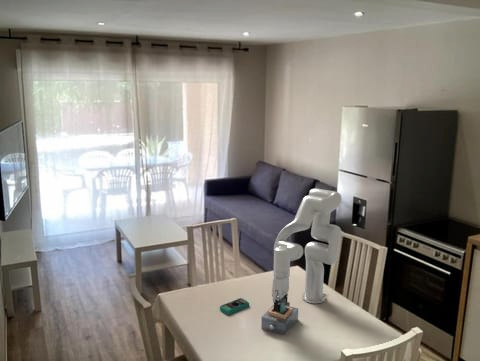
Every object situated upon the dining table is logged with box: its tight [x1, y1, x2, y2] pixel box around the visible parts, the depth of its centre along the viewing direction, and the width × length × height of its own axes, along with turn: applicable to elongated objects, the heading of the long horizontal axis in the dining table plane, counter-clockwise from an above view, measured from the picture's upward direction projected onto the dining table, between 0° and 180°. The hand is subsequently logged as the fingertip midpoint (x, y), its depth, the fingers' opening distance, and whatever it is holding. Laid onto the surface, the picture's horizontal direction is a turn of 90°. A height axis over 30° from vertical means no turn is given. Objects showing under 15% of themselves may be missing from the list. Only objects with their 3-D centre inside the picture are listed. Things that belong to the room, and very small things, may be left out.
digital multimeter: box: [219, 297, 250, 316], centre depth 222 cm, size 7×15×3 cm, turn 130°
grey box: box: [261, 304, 299, 336], centre depth 206 cm, size 18×12×8 cm, turn 151°
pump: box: [275, 297, 291, 315], centre depth 205 cm, size 5×7×7 cm
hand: (280, 307), depth 206 cm, fingers open, 7 cm apart
